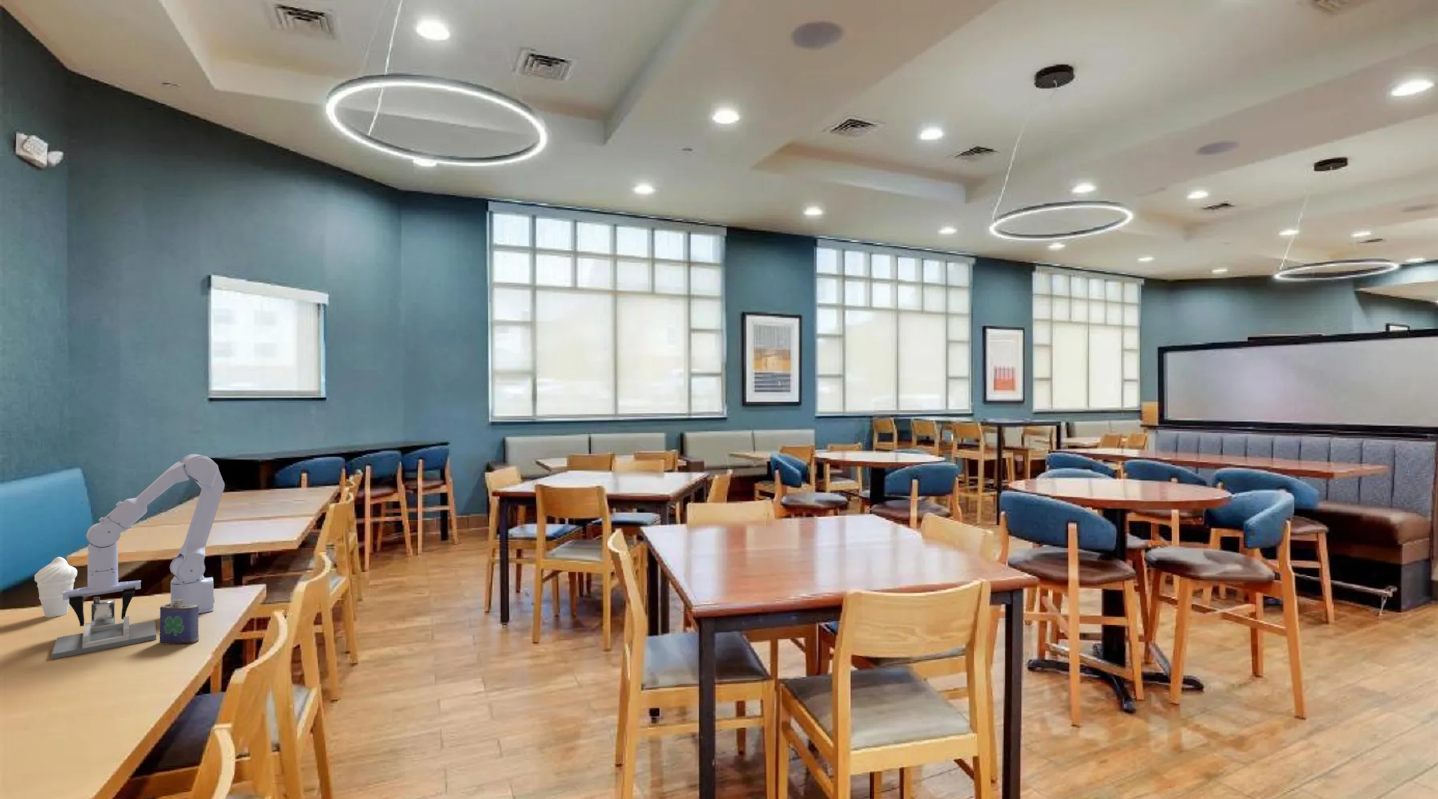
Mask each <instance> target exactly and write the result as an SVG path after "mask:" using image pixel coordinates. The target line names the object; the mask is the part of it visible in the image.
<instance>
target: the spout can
mask: <svg viewBox="0 0 1438 799" xmlns="http://www.w3.org/2000/svg"><path fill="white" fill-rule="evenodd" d="M115 602H116V600H114V599H102V600H101V597H100V596H94V597H93V602H91V604H90V605H91V606H90V608H91V609H90V610H91V611H90V613H91V615H90V618H91V621H90V623H91V628H92V627H97V626H103V625H109V624H115V623H116V621H115V620H116V614H115V613H116V612H115V611H116V610H115V609H116V608H115V607H116V603H115Z"/></svg>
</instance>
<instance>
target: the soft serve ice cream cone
mask: <svg viewBox="0 0 1438 799" xmlns="http://www.w3.org/2000/svg"><path fill="white" fill-rule="evenodd" d="M77 576H78V569H77V568H76V567H74V566H72V565H70V564H68V561H67V560H66V559H65V558H64V557H61V556H58V557H57V556H56V557H55V558H54V559H53V560H52V561H51V562H50V563H49V564H46V565H45V566H44V567H42V568H40V569H39V570H38V571H37V572H36V573H35V574H34V582H35V583H37V585H36V587H37V588H38V589H37V590H38V596H39V597H38V599H39V600H40V603H41V608H42V610H43V614H44V617H45V618H56V616H57V617H60V616H64V614H65V615H67V614H68V611H69V608H70V604H69V599H68V600H63V591H68V590H73V589H74V585H75V584H74V583H75V581H76V577H77ZM66 613H67V614H66Z"/></svg>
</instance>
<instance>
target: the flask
mask: <svg viewBox="0 0 1438 799" xmlns="http://www.w3.org/2000/svg"><path fill="white" fill-rule="evenodd" d="M183 600H184V599H182V598H181V599H176V600H173V601H174V602H176V603H171V602H170V603H167V604H165V605H161V606H160V607H159V644H160V643H161V644H160V645H188V644H189V645H190V644H197V642H199V641H200V639H199V638H200V634H199V613H198V611H199V606H198V605H182V601H183Z"/></svg>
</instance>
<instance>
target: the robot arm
mask: <svg viewBox="0 0 1438 799" xmlns="http://www.w3.org/2000/svg"><path fill="white" fill-rule="evenodd" d="M190 478H191V479H193V481H194V482H195V483H196V484H197V485H198V486H199V488H200V489H201V490H200V494H199V496H198V499H197V502H196V505H195V509H194V512H193V514H192V516H191V521H190V523H189V527H188V530H187V533H186V535H185V538H184V539H185V540H184V542H183V544H182V546H181V547H180V549H179V551H178V554H177V555H176V557H174V559H172V561H171V563H170V564H169V569H170V572H171V574H173V575H174V576H173V577H172V579H171V580H170V603H176V602H174V601H173V600H176V599H181V598H182V599H184V600H183V601H182V605H198V606H199V611H198V614H203V613H208V612H213V611H214V610H215V609H214V604H215V596H214V594H215V593H214V577H213V576H211V577H205V576H204V573H205V571H206V565H205V558H206V546H207V542H208V540H209V537H210V534H211V530H212V527H213V524H214V521H215V517H216V515H217V512H218V509H219V506H220V502H221V499H222V496H223V493H224V490H225V486H226V485H225V481H224V480H223V477H222V475H221V472H220V469H219V465H218V464H217V463H216V462H215V461H214V460H213V459H211V458H210V457H209V456H207V455H201V454H199V453H191V454H188V455H185V456H184V457H182V459H180V461H177V462H175V463H174V464H172V465H171V466H170V467H169V468H168V469H166V470H164V472H163V473H162V474H161V475H160V476H159V477H157V479H155V480H154V481H153V482H151V484H150V485H148V486H147V487H146V488H145V489H144V490H143V491H142V492H140V494H138V495H137V496H136V497H133V498H127V499H125V500H123V501H121V500H120V501H118V502H117V503H116V504H115V506H116V507H115V508H114V509H112V511H110V512H109V513H108V514H107V515H106V516H104V517H103V516H101V517H100V518H99V519H98V521H99V522H97V523H95V524H92V525H91V526H90V527H89V528H88V529H87V532H86V534H85V538H86V540H87V542H88V546H87V550H88V552H87V586H84V587H79V588H75V589H74V588H73V590H68V591H63V600H68V599H69V607H71V609H72V610H73V611H74V613H75V614H76V617H77V618H78V621H79V622H78V623H79V627H85V615H84V600H85V599H84V598H85V597H89V596H98V595H105V594H112V593H116V592H117V593H118V592H122V594H121V596H122V598H121V600H122V602H121V603H122V604H121V606H122V608H121V616H120V618H121V619H120V620H124V617H126V615H127V611H128V608H129V605H130V603H131V601H132V599H133V598H134V595H135V594H136V590H140V589H141V588H142V587H141V586H142V584H141V583H142V580H139V579H138V580H132V581H131V580H130V581H120V582H119V550H118V541H119V540H120V538H121V536H122V535H121V534H122V533H123V532H126V531H128V529H129V528H130V527H132V525H134V524H136V522H138V520H140V519H141V518H142V517H143V516H144V515H146V513H148V505H150V504H151V503H152V502H153V501H155V500H156V499H157V498H159V497H160V496H161V495H162V494H163V493H165V491H167V490H169V489H170V488H171V487H172V486H173V485H175V484H178V483H182V482H186V481H189V480H190Z"/></svg>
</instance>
